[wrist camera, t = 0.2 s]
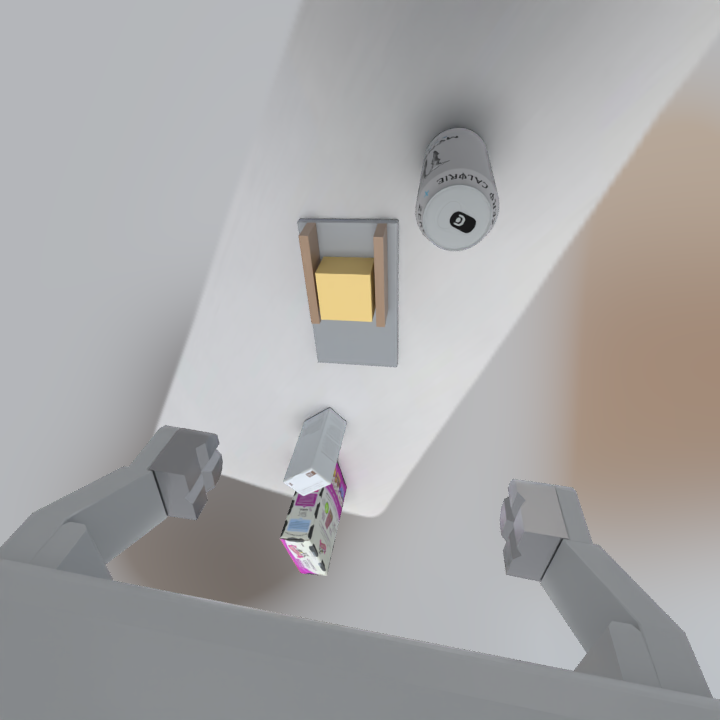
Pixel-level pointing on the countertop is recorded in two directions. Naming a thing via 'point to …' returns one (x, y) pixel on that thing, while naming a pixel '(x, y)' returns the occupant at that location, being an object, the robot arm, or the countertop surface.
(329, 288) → the ochre block
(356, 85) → the countertop surface
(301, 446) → the skincare box
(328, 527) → the candy bar box
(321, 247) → the chute
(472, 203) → the energy drink can
